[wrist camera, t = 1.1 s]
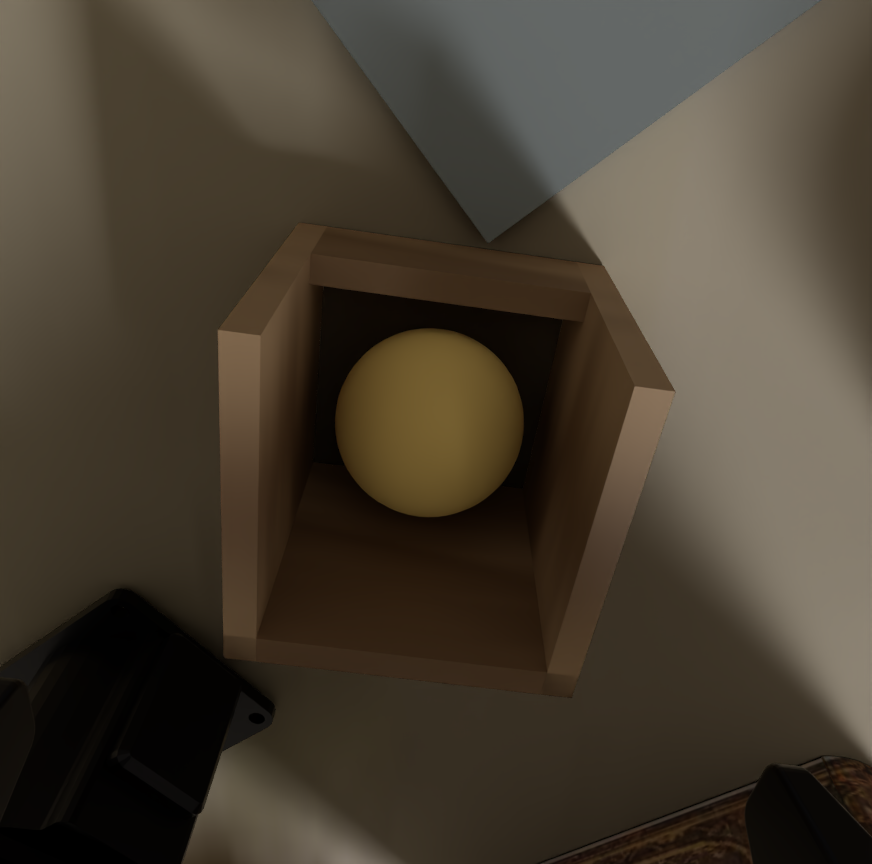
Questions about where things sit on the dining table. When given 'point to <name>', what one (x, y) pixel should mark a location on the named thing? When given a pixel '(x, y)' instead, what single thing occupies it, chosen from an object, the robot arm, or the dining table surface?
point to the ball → (429, 422)
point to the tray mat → (540, 81)
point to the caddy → (428, 536)
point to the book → (721, 824)
